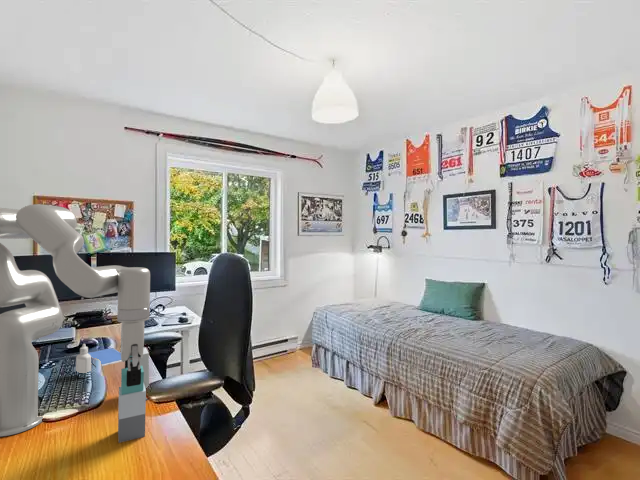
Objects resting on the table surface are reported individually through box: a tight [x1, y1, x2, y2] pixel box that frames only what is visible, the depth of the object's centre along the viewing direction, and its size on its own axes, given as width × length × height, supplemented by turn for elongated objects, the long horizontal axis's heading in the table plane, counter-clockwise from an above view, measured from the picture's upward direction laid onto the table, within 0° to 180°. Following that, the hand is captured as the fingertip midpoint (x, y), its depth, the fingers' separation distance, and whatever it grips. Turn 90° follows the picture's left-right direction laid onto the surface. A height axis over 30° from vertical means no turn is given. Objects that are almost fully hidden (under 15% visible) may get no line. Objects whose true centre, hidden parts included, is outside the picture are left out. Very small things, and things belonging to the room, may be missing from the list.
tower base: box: [117, 410, 146, 444], centre depth 92 cm, size 6×6×6 cm
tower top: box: [117, 385, 147, 419], centre depth 92 cm, size 6×6×6 cm
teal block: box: [120, 366, 144, 395], centre depth 92 cm, size 5×5×5 cm
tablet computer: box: [88, 347, 122, 367], centre depth 148 cm, size 19×13×1 cm, turn 50°
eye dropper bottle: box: [75, 343, 92, 373], centre depth 128 cm, size 4×6×12 cm
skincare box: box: [140, 346, 150, 401], centre depth 114 cm, size 8×6×15 cm
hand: (132, 378), depth 92 cm, fingers open, 9 cm apart
